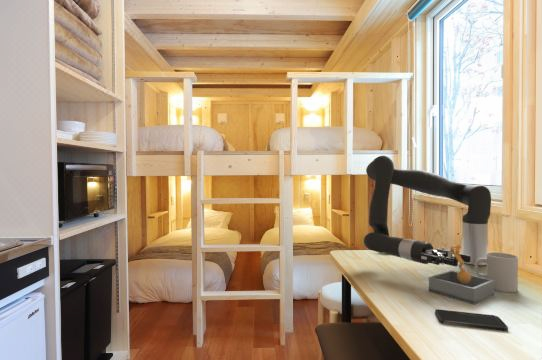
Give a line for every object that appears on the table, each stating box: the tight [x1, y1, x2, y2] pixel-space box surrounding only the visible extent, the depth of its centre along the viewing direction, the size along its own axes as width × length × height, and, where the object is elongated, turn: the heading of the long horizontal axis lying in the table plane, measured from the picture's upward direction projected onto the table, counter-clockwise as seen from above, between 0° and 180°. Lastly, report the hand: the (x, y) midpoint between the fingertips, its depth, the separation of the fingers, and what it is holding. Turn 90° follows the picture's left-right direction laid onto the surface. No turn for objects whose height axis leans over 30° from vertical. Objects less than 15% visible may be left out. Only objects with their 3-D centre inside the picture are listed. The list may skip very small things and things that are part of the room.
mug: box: [474, 251, 519, 294], centre depth 110 cm, size 12×8×11 cm
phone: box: [434, 308, 509, 332], centre depth 85 cm, size 8×1×15 cm
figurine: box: [450, 244, 472, 283], centre depth 105 cm, size 8×6×12 cm
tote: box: [428, 269, 495, 305], centre depth 105 cm, size 14×14×4 cm
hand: (463, 261), depth 104 cm, fingers closed on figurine, 7 cm apart
